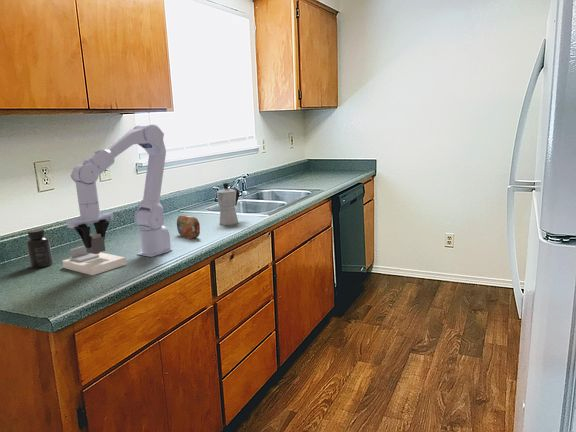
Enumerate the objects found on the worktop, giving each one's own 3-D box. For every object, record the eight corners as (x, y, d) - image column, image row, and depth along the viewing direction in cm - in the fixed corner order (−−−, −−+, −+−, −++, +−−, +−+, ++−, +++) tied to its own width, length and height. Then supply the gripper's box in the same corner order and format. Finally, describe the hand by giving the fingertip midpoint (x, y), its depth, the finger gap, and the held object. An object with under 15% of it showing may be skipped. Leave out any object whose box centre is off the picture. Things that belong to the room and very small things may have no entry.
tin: (177, 234, 189) (175, 214, 188) (184, 233, 191) (182, 213, 190) (195, 240, 178) (193, 218, 176) (202, 238, 180) (200, 217, 178)
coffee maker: (227, 227, 198) (224, 185, 194) (211, 225, 202) (208, 184, 199) (248, 220, 210) (245, 180, 206) (233, 218, 215) (230, 180, 211)
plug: (98, 249, 149) (95, 232, 148) (105, 250, 147) (103, 233, 146) (86, 252, 146) (84, 235, 145) (93, 253, 144) (91, 236, 143)
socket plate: (96, 258, 160) (95, 249, 160) (126, 264, 150) (125, 255, 150) (63, 267, 151) (61, 258, 150) (92, 275, 141) (91, 265, 140)
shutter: (88, 254, 156) (86, 244, 155) (99, 256, 152) (97, 246, 152) (69, 259, 151) (67, 249, 150) (80, 262, 147) (78, 251, 146)
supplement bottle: (57, 261, 159) (51, 227, 156) (47, 267, 152) (41, 232, 150) (36, 263, 158) (30, 229, 156) (26, 269, 152) (20, 233, 149)
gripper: (102, 198, 152) (108, 239, 154) (59, 206, 140) (65, 249, 143) (115, 199, 148) (120, 241, 150) (71, 208, 136) (78, 252, 139)
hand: (94, 245), depth 146 cm, fingers closed on plug, 4 cm apart
